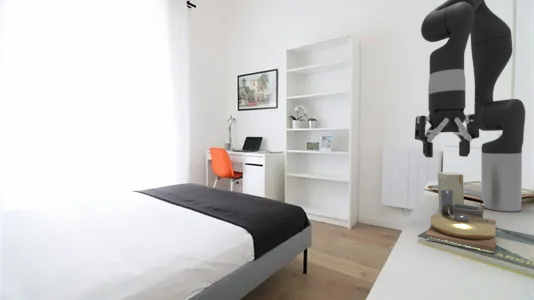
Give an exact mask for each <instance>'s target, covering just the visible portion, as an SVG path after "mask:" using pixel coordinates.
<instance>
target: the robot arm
mask: <svg viewBox="0 0 534 300" xmlns="http://www.w3.org/2000/svg"><path fill="white" fill-rule="evenodd" d="M420 33H421V36H422V38H423V39H424V40H425V41H426V42H430V43H436V42H441V41H443V40H447V42H446V43H444V44H443V45H442V46H440V47H438V48H436V49H435V50H433V51H432V52H431V53H430V55H429V79H428V89H427V91H428V93H427V95H428V106H427V107H428V112H429V113H428V115H427V116H425V115H418V116H416V117H415V123H414V124H415V125H414V126H415V127H414V139H415V140H416V141H417V140H418V141H421V142H422V154H423V155H424V157H425V158H433V157H434V145H433V144H434V143H433V141H434V139H435V138H436V137H437V136H438V135H440V133H452V134H453V135H455V136H456V137H457V138H458V139H459V141H458V155H459V157H463V158H464V157H465V158H466V157H467V158H468V157H469V155H470V153H471V141H472V140H475V139H479V138H480V131H483V132H484V131H485V132H492V131H493V132H495V131H496V132H497V131H498V132H499V131H500V132H501V131H502V133H501V135H500V136H499V137H498V138H496V139H494V140H491V141H487V142H484V143H482V144H481V192H480V193H481V194H480V195H481V199H482V201H483V203H484V207H483V208H485V209H490V210H494V211H499V212H520V211H522V181H523V180H522V179H523V176H522V175H523V174H522V173H523V172H522V171H523V169H522V166H523V164H522V162H523V160H522V159H523V145H524V135H525V133H524V132H525V125H526V107H525V105H524V103H523V102H522V100H521V99H518V98H508V99H501V100H500V99H499V100H494V90H495V86H496V83H497V81H498V79H499V77H500V76H501V74H502V72H503V71H504V69H505V68H506V67H507V65H508V63H509V62H510V59H511V57H512V54H513V38H512V30H511V28H510V26H509V25H508V24H507V23H506V22H505V21H504V20H503V19H501V18H500V17H499V16H498V15H496V14H495V13H494V12H493V11H492V10H491V9H490V8H489V7H488V6H487V4H486V1H485V0H446V1H444V2H443V3H441V4H440V5H438V6H437V7H435V8H434V9H433V10H432V11H430V12H428V14H427V15H426V16H425V17H424V20H423V21H422V23H421V26H420ZM469 37H470V38H469ZM469 39H470V46H471V47H470V49H471V50H470V51H471V58H472V68H473V78H474V79H473V81H474V106H473V107H474V113H469V114H466V113H465V112H464V111H465V109H466V76H465V52H466V49H467V45H468V41H469ZM464 123H465V124H466V127H465V125H464ZM427 124H430V126H429V127H428V128H427V130H426V127H427V126H426V125H427ZM481 199H480V200H481Z"/></svg>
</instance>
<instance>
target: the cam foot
mask: <svg viewBox="0 0 534 300" xmlns="http://www.w3.org/2000/svg"><path fill="white" fill-rule="evenodd" d="M484 218H485V217H483V218H481V217H477V216H472V215H467V214H459V213H453V191H452V190H441V213H440V212H438V213H434V214H432V215H431V216H430V226H431V227H432V228H433V229H435V230H437V231H439V232H441V233H444V234H447V235H451V236H455V237H461V238H468V239H489V238H492V237H494V236H495V224H494V223H493V222H491V221H489V220H487V219H488V218H485V219H484Z"/></svg>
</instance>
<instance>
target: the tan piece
mask: <svg viewBox="0 0 534 300" xmlns="http://www.w3.org/2000/svg"><path fill="white" fill-rule="evenodd" d="M439 213H441V212H440V211H439ZM453 213H459V214H467V215H472V216H477V217H481V218H484V219H487V220H489V221H491V222H493V223H494V224H495V236H494V237H492V238H489V239H468V238H461V237H455V236H451V235H447V234H444V233H441V232H439V231H437V230H435V229H433V228H432V227H431V225H430V226H429V227H428V229H427V231H426V232H425V238H426V237H432V238H436V239H440V240H447V241H450V242H454V243H457V244H461V245H467V246H471V247H476V248H480V249H484V250H489V251H493V252H495V253H496V239H495V237H496V236H497V235H496V234H497V233H496V232H497V231H496V229H497V225H496V224H497V223H496V222H497V220H496V219H491V218H485V217H484V207H483V206H476V205H475V206H474V205H468V204H467V205H465V204H464V205H460V204H453ZM496 238H497V237H496Z"/></svg>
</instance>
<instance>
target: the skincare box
mask: <svg viewBox="0 0 534 300" xmlns="http://www.w3.org/2000/svg"><path fill="white" fill-rule="evenodd" d="M437 185H438V187H437V190H438V192H437V193H438V212H439V213H440V212H441V190H452V191H453V204H460V205H465V200H464V198H465V194H464V174H461V173H458V172H454V171H438V172H437Z"/></svg>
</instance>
